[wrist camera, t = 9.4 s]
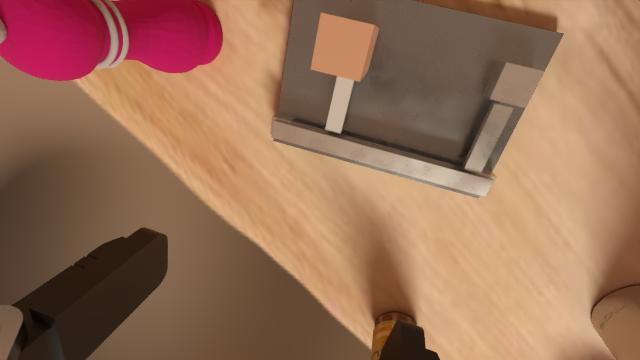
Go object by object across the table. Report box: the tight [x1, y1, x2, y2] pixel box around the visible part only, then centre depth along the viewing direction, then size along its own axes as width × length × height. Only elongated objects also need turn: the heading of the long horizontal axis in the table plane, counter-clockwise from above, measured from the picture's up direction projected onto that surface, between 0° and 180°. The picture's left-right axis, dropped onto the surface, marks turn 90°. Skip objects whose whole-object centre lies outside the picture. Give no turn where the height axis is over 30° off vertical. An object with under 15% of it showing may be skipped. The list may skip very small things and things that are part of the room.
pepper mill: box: [0, 0, 223, 81], centre depth 24 cm, size 7×7×20 cm
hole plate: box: [271, 0, 564, 198], centre depth 29 cm, size 23×16×4 cm
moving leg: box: [311, 13, 379, 134], centre depth 26 cm, size 4×10×9 cm, turn 168°
